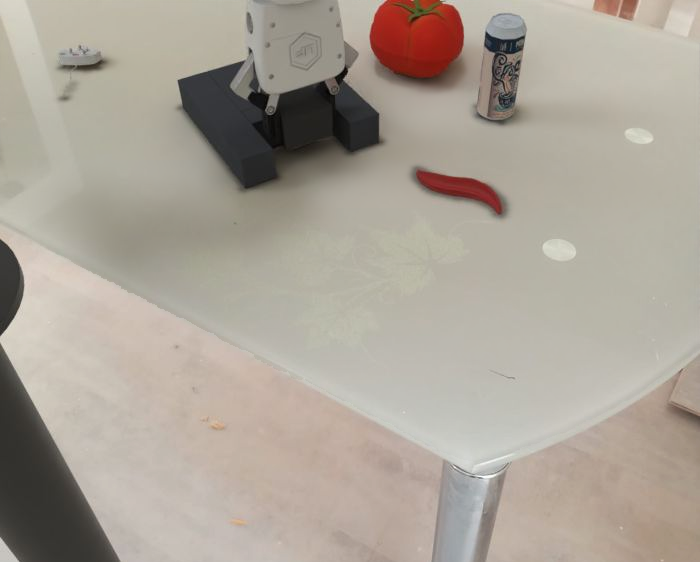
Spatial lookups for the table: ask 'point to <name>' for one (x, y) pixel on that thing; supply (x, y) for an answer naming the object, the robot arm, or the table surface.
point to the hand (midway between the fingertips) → (300, 128)
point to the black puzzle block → (304, 117)
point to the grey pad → (247, 125)
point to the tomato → (417, 36)
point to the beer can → (501, 66)
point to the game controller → (79, 57)
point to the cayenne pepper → (460, 187)
